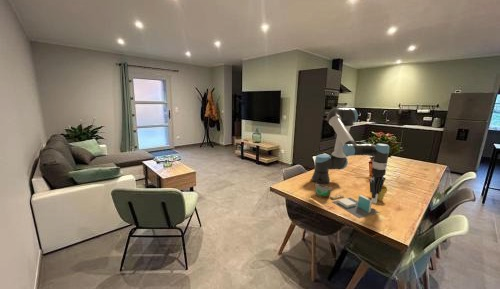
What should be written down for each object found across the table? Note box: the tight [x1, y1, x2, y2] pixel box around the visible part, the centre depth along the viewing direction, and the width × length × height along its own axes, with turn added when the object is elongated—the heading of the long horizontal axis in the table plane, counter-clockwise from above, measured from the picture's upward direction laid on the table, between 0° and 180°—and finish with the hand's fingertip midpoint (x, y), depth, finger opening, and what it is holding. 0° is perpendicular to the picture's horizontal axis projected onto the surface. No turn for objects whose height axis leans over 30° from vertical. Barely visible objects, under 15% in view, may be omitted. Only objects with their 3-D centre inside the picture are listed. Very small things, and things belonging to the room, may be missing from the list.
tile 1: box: [337, 197, 356, 208], centre depth 140 cm, size 8×2×8 cm
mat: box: [331, 197, 380, 219], centre depth 137 cm, size 22×18×1 cm
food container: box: [314, 182, 333, 199], centre depth 150 cm, size 12×6×10 cm, turn 45°
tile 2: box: [357, 194, 373, 213], centre depth 133 cm, size 8×2×8 cm, turn 24°
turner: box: [329, 194, 345, 201], centre depth 151 cm, size 18×6×2 cm, turn 114°
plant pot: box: [370, 185, 388, 202], centre depth 151 cm, size 10×10×10 cm
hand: (373, 202), depth 137 cm, fingers closed
